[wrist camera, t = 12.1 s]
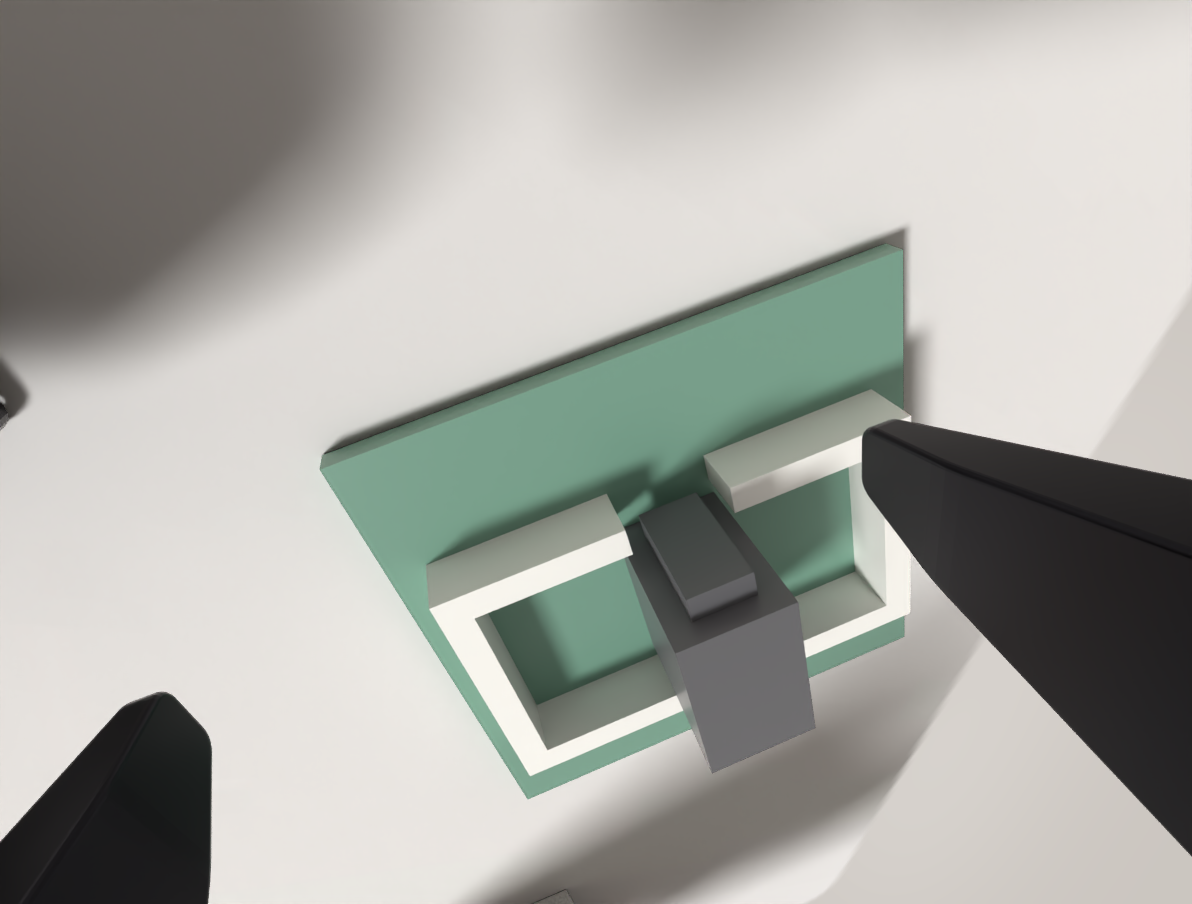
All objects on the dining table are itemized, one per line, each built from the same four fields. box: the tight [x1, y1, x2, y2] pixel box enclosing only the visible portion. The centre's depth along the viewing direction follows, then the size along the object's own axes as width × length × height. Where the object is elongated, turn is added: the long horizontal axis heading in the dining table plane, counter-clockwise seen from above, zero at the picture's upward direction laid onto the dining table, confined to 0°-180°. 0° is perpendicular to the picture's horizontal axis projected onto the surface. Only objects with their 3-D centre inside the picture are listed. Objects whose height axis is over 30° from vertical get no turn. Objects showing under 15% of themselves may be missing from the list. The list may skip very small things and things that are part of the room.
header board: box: [320, 244, 911, 799], centre depth 23 cm, size 18×18×3 cm
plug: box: [624, 492, 815, 773], centre depth 21 cm, size 4×7×6 cm, turn 16°
